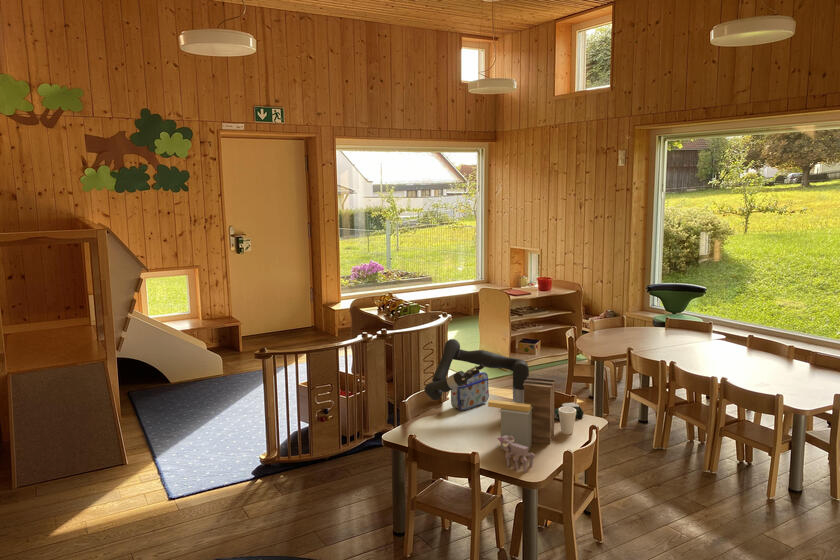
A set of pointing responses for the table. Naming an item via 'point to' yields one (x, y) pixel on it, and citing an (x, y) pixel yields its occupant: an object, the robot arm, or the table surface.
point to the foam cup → (567, 419)
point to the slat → (509, 405)
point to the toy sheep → (516, 451)
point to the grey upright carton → (517, 426)
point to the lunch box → (471, 392)
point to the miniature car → (578, 410)
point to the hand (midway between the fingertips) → (481, 368)
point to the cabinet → (541, 407)
